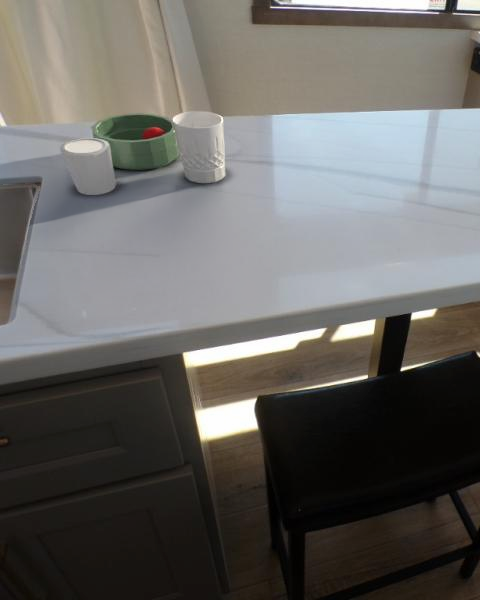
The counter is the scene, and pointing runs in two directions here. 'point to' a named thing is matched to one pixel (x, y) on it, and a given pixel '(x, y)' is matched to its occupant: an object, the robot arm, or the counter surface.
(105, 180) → the white cylinder
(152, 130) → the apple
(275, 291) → the counter surface
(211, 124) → the white cup
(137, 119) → the bowl
